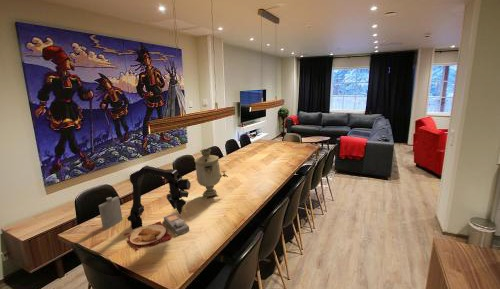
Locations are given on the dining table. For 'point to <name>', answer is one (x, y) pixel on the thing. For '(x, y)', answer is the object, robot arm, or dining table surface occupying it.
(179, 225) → the aluminium block
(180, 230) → the parts holder
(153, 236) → the plate with food
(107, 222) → the hip flask
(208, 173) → the samovar
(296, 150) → the dining table surface
